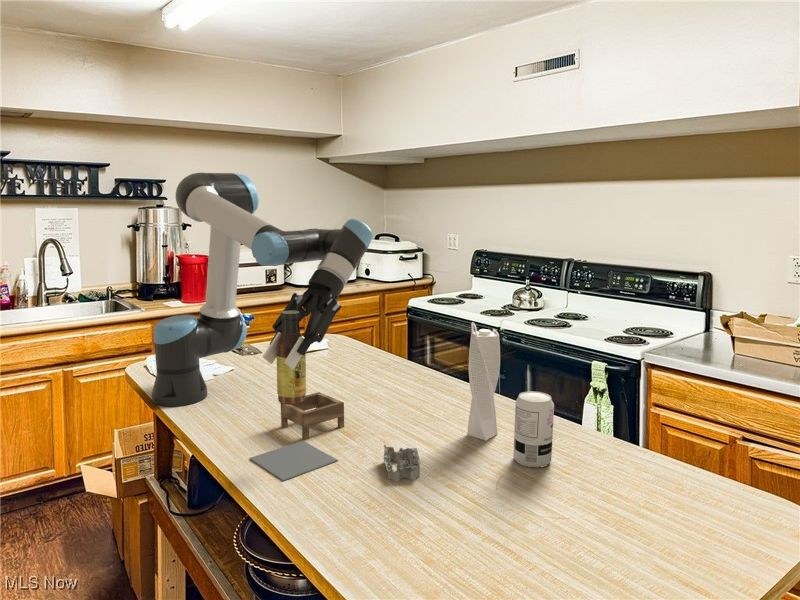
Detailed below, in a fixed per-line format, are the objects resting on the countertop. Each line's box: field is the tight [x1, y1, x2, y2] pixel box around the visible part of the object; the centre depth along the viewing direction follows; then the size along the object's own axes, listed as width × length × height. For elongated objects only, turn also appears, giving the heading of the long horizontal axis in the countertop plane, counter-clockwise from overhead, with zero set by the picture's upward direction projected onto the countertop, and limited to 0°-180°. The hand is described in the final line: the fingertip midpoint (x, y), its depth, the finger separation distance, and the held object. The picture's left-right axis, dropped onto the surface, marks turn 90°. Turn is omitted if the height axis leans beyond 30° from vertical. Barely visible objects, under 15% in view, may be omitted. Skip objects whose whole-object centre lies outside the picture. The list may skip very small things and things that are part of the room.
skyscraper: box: [466, 321, 501, 442], centre depth 144 cm, size 8×8×28 cm
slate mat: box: [249, 440, 339, 482], centre depth 132 cm, size 14×14×1 cm
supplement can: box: [513, 390, 555, 468], centre depth 131 cm, size 8×8×15 cm
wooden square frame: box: [280, 391, 345, 441], centre depth 150 cm, size 11×12×6 cm
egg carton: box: [383, 444, 421, 482], centre depth 128 cm, size 11×8×4 cm
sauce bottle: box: [276, 310, 307, 405], centre depth 128 cm, size 7×6×20 cm
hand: (278, 363), depth 125 cm, fingers closed on sauce bottle, 6 cm apart
